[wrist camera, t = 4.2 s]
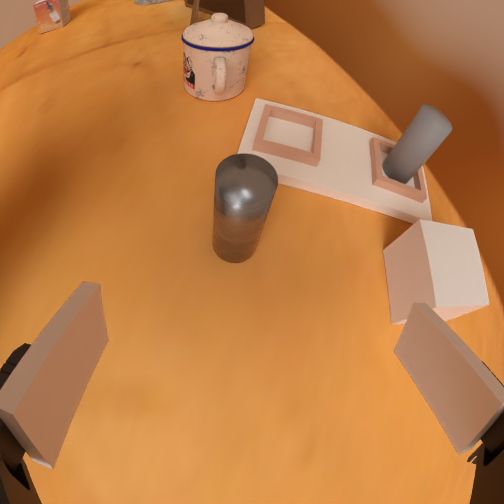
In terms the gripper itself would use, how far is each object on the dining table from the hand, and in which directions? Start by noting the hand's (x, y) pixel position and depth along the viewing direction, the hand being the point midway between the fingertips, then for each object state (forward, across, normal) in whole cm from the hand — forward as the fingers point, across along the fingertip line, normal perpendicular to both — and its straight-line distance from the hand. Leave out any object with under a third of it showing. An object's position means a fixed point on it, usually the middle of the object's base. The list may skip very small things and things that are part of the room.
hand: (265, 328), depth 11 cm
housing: (+14, +19, -5) cm, 24 cm away
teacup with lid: (+33, -5, +14) cm, 36 cm away
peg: (+17, -1, -2) cm, 17 cm away
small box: (+59, -53, +40) cm, 89 cm away
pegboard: (+25, +12, +6) cm, 28 cm away
